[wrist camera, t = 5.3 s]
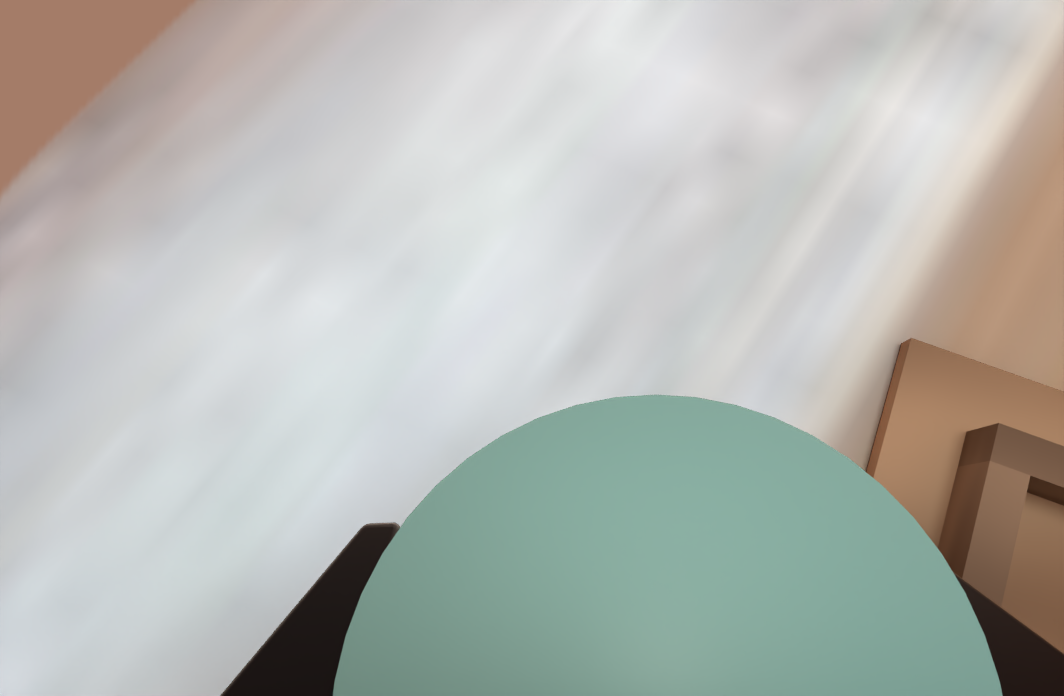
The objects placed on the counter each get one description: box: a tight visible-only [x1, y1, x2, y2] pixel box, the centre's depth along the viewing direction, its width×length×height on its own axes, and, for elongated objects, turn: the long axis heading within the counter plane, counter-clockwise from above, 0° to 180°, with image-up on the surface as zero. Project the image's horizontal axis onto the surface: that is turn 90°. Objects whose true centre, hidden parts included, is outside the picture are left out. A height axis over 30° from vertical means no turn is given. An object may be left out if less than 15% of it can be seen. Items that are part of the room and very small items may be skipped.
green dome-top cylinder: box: [333, 395, 1003, 696], centre depth 11 cm, size 5×5×10 cm
